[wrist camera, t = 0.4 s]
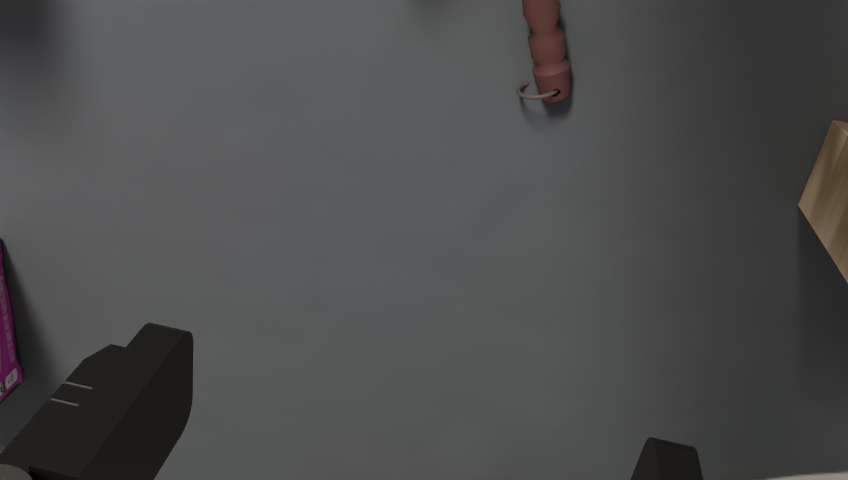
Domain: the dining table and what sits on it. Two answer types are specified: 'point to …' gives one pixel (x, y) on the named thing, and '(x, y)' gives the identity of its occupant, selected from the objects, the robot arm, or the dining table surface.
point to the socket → (830, 195)
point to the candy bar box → (7, 342)
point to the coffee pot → (547, 51)
